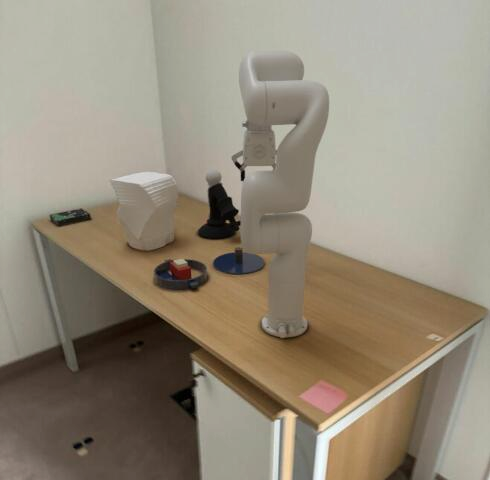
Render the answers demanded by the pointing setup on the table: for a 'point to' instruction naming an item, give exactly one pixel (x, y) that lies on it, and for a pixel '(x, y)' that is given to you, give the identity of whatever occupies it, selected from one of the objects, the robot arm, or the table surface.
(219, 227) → the sculpture
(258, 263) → the lid
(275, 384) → the table surface
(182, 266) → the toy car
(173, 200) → the paper stack
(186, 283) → the pot
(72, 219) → the disk drive
